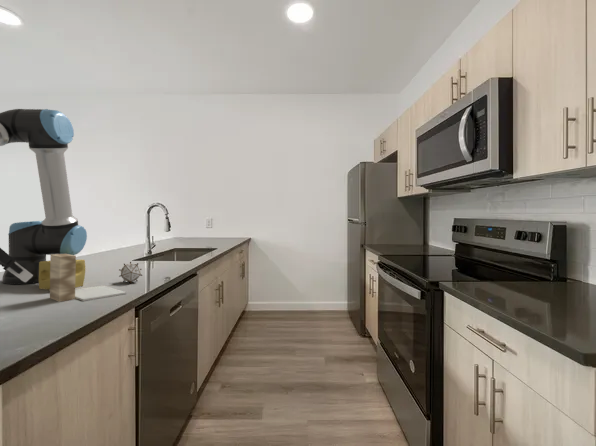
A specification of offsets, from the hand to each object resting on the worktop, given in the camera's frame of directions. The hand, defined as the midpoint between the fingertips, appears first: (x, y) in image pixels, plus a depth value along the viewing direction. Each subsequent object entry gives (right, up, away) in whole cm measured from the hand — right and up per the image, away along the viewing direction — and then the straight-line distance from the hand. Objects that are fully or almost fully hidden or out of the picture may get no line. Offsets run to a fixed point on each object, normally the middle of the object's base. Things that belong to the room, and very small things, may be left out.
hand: (28, 278), depth 107 cm
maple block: (+5, -8, +8) cm, 12 cm away
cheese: (-6, -7, +24) cm, 26 cm away
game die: (+13, -7, +37) cm, 40 cm away
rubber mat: (+10, -8, +16) cm, 21 cm away
